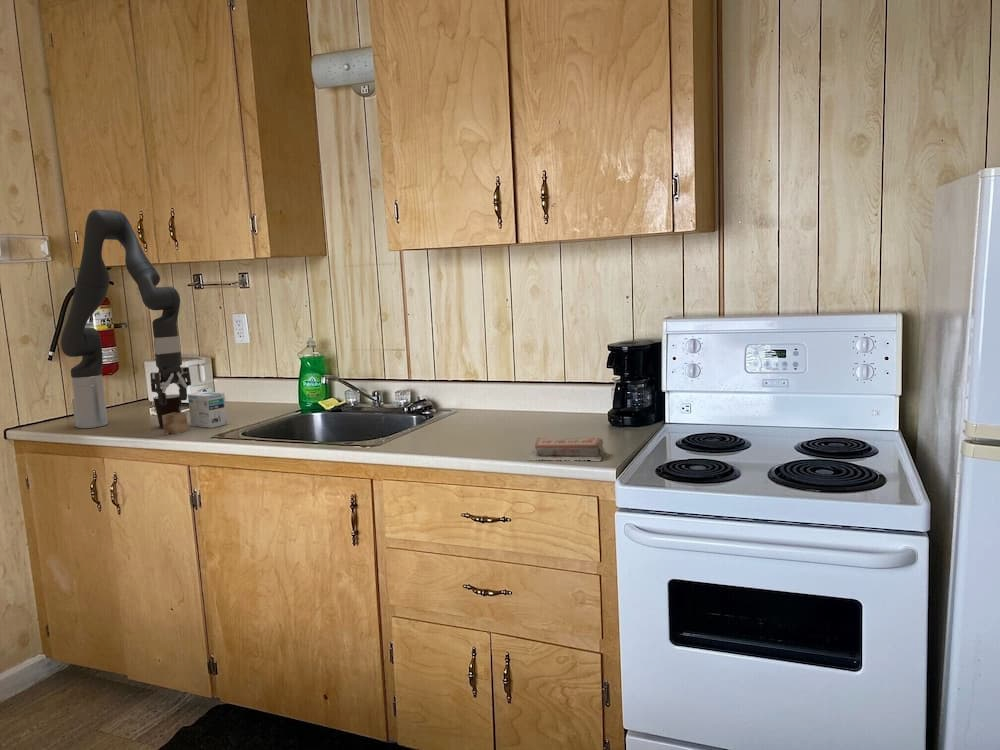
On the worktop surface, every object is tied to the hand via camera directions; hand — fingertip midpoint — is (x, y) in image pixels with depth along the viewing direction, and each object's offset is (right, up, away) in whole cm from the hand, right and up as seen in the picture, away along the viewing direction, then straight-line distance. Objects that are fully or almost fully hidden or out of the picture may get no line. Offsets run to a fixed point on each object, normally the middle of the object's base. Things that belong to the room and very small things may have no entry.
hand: (173, 402), depth 240 cm
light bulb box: (+7, -8, +11) cm, 15 cm away
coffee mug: (-6, -8, +14) cm, 17 cm away
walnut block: (0, -10, +1) cm, 10 cm away
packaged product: (+119, -12, -52) cm, 130 cm away
